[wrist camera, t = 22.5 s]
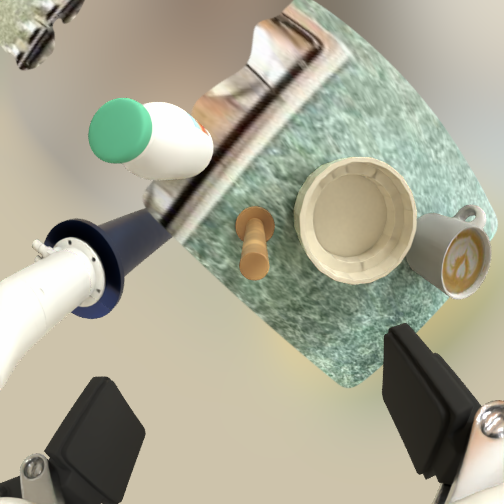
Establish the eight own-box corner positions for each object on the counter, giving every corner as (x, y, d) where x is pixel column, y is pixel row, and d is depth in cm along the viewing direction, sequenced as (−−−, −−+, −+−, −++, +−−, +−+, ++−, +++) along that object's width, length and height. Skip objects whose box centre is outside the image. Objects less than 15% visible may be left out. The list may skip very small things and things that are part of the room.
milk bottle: (225, 157, 35) (190, 138, 16) (176, 189, 36) (100, 209, 17) (194, 110, 33) (135, 54, 14) (147, 144, 35) (55, 126, 15)
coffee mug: (422, 286, 40) (455, 313, 30) (393, 242, 38) (429, 263, 28) (471, 232, 37) (510, 247, 27) (447, 186, 35) (489, 192, 26)
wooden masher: (229, 231, 38) (208, 276, 21) (248, 198, 36) (242, 220, 20) (261, 250, 38) (264, 308, 22) (281, 218, 37) (301, 255, 21)
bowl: (271, 232, 38) (273, 242, 32) (331, 137, 34) (345, 130, 28) (357, 286, 40) (371, 304, 34) (412, 201, 36) (435, 206, 30)
